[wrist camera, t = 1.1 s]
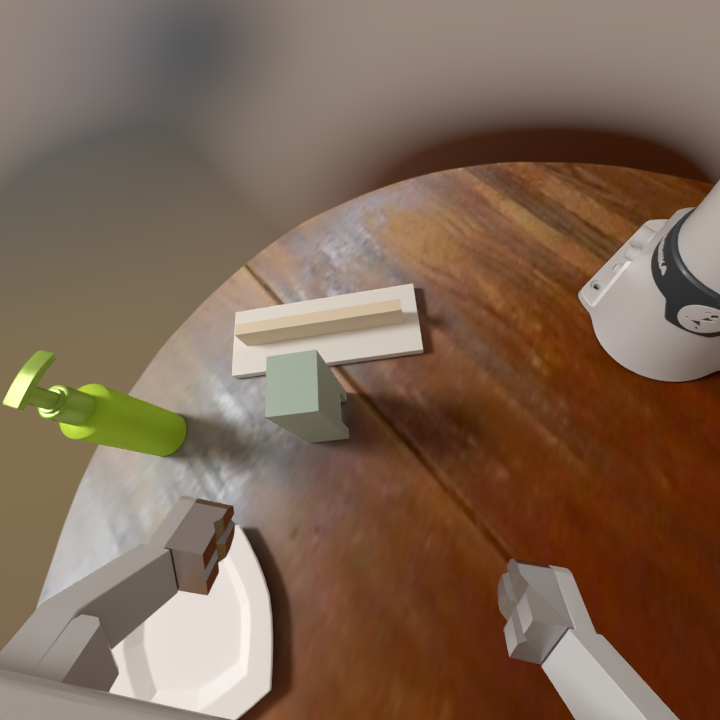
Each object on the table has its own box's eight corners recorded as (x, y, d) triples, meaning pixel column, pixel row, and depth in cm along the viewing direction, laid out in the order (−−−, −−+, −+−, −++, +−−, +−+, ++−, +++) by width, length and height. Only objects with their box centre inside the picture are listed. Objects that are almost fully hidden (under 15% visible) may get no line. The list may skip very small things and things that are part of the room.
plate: (123, 764, 37) (107, 777, 36) (112, 560, 45) (99, 562, 43) (298, 698, 37) (292, 707, 35) (257, 503, 45) (250, 503, 43)
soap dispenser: (196, 411, 51) (65, 355, 32) (175, 461, 48) (21, 432, 30) (162, 401, 52) (18, 343, 34) (139, 449, 50) (-28, 415, 32)
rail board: (413, 288, 52) (411, 268, 48) (423, 353, 48) (422, 337, 44) (239, 316, 55) (223, 299, 51) (236, 378, 51) (218, 366, 47)
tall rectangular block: (346, 392, 48) (316, 349, 35) (349, 438, 46) (318, 410, 33) (309, 397, 48) (266, 356, 36) (310, 442, 46) (265, 417, 33)
